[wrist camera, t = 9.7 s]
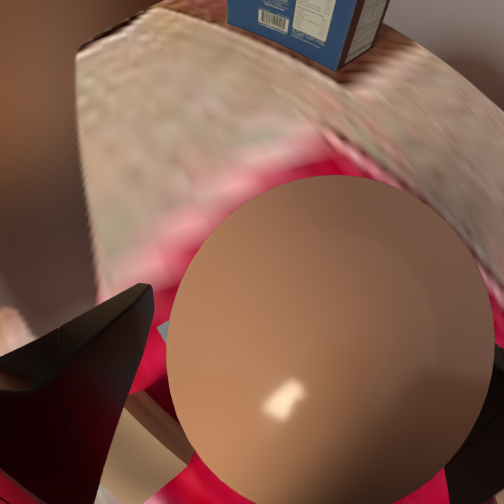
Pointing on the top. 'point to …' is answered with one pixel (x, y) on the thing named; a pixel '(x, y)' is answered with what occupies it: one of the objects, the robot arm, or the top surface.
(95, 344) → the robot arm
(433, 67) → the top surface
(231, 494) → the top surface
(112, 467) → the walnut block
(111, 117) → the top surface
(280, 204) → the canister
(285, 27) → the protein box
